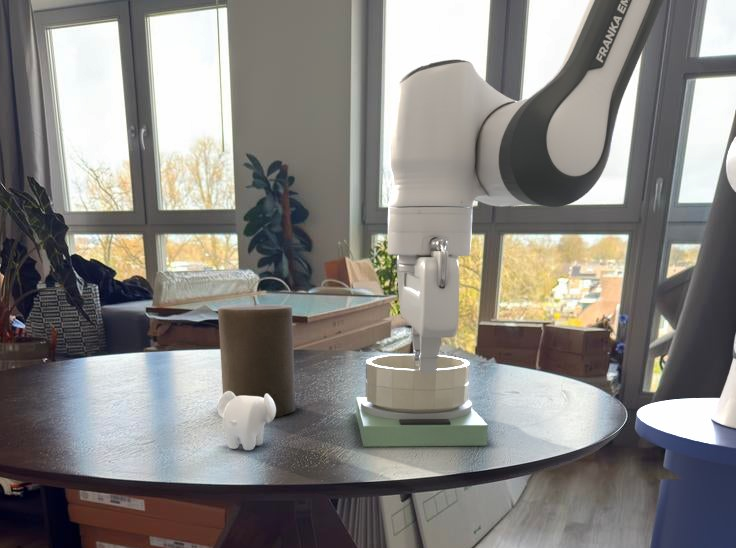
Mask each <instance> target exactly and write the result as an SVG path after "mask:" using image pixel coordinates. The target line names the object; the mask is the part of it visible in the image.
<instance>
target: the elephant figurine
mask: <svg viewBox="0 0 736 548" xmlns="http://www.w3.org/2000/svg"><path fill="white" fill-rule="evenodd" d="M216 409H217V414H218V416H219V417H220V418H222V429H223V434H224V437H225V441H226V444H227V447H228V449H231V450H236V449H238V448H239V447H240V445H242V448H243V450H245V451H253V450H254V449H255V447H257V446H262V445H263V441H264V431H265V430H264V429H265V425H266V423H267V424H270V423H272V422H273V420H274V419H275V418H276V417H275V414H276V406H275V403H274V401H273V399H272V398H271V397H270V396H269V394H267V393H266V394H265V396H264V398H262V397H257V396H235V394H234V393H233V392H231V391H227V392H225V393H224V394H223V393H222V394H221V396H220V397H219V399H218V402H217V404H216Z"/></svg>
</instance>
